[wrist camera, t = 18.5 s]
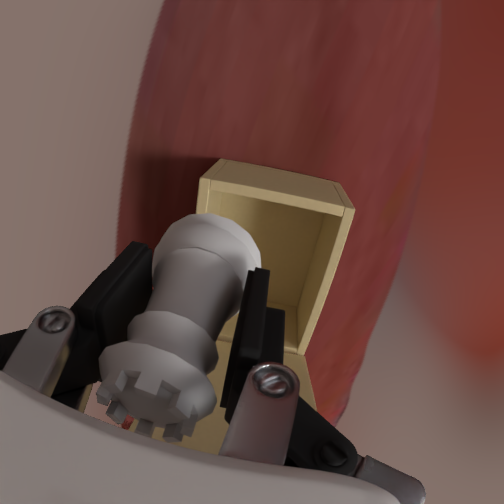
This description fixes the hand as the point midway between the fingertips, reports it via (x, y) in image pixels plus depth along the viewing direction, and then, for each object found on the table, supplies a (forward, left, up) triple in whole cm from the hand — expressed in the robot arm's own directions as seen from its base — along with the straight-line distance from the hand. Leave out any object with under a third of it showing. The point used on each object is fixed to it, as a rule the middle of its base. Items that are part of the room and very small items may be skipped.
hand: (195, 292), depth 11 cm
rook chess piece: (0, 0, -3) cm, 3 cm away
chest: (+7, +3, -19) cm, 20 cm away
